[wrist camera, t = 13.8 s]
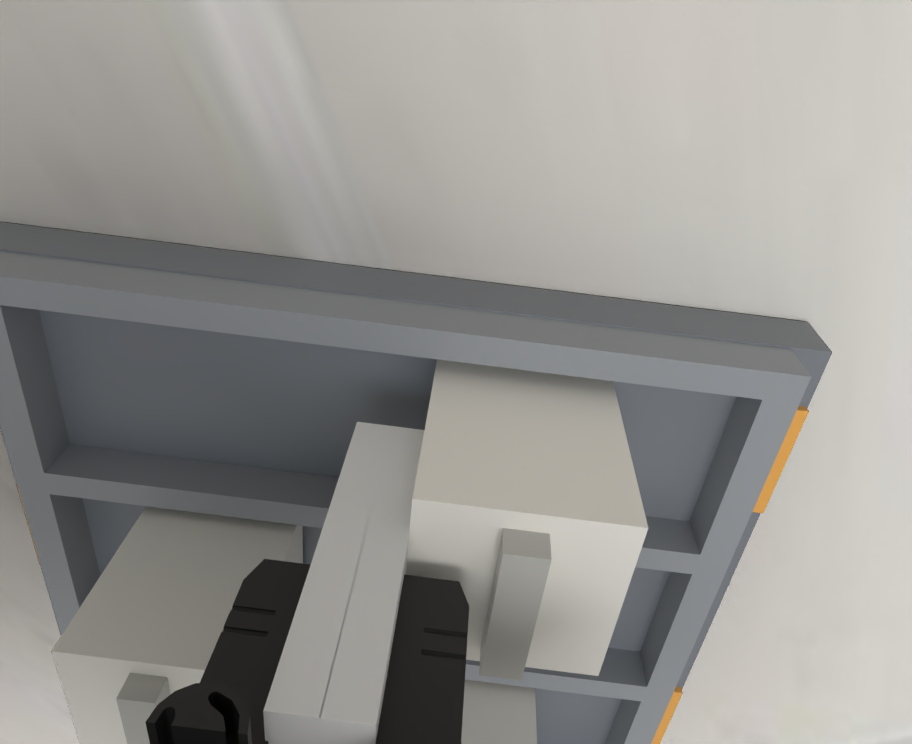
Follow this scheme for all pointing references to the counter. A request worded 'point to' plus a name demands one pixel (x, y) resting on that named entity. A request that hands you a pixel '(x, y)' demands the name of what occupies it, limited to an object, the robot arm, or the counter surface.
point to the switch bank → (378, 418)
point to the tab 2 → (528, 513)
